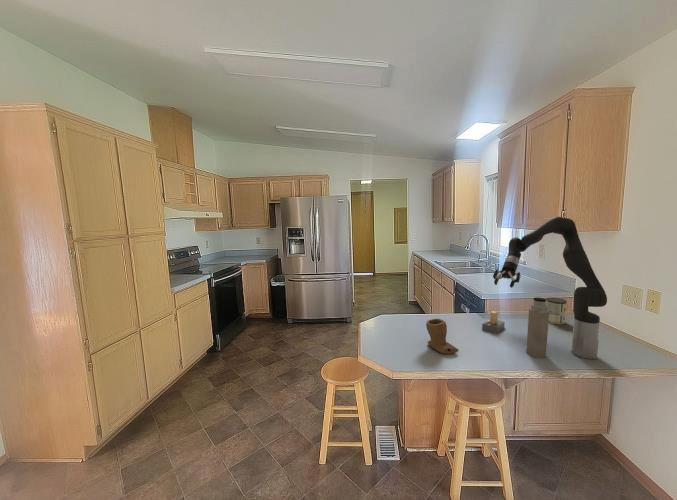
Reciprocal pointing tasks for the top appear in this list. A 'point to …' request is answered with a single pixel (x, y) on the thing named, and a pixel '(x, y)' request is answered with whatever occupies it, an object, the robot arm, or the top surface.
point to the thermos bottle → (537, 328)
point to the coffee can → (556, 310)
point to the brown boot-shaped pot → (439, 336)
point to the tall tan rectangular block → (493, 317)
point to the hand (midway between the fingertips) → (503, 285)
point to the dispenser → (493, 326)
